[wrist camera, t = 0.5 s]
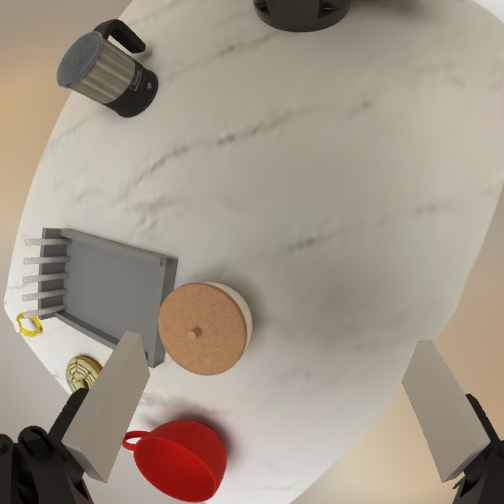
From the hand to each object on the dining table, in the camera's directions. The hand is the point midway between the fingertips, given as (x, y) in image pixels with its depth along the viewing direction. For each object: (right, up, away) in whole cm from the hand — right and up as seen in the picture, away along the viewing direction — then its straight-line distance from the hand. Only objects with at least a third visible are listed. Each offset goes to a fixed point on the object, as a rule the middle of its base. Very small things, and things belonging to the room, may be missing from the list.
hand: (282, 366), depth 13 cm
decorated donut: (-31, -19, +35) cm, 50 cm away
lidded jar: (-5, -3, +27) cm, 27 cm away
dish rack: (-24, -1, +32) cm, 40 cm away
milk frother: (-24, +34, +31) cm, 52 cm away
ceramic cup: (-11, -24, +29) cm, 40 cm away
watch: (-48, -10, +39) cm, 63 cm away
